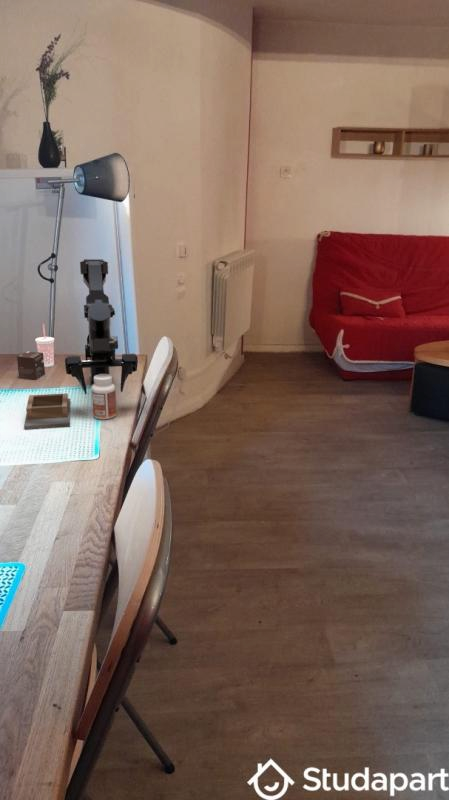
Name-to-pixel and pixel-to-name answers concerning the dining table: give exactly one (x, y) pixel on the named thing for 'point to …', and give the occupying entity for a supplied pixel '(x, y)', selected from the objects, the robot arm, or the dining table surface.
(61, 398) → the socket
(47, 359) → the beverage cup
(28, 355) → the box
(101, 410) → the pill bottle
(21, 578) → the dining table surface
